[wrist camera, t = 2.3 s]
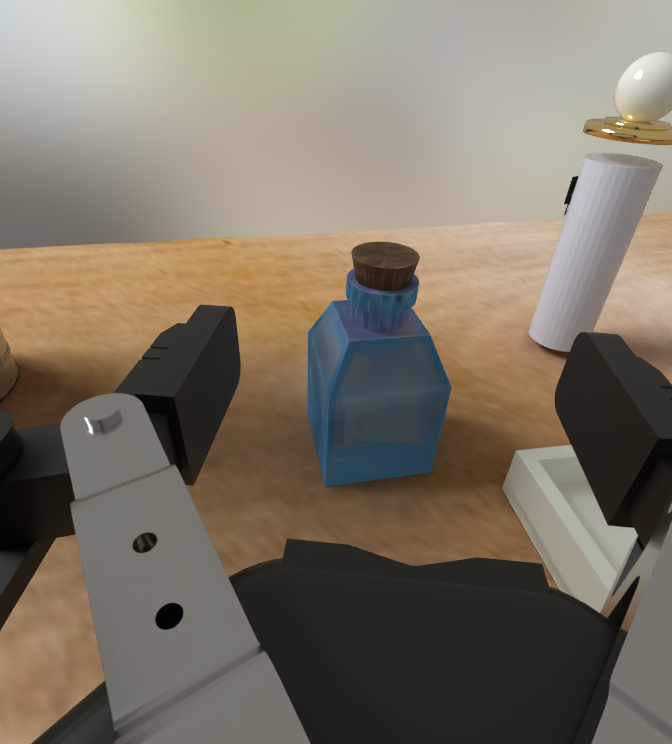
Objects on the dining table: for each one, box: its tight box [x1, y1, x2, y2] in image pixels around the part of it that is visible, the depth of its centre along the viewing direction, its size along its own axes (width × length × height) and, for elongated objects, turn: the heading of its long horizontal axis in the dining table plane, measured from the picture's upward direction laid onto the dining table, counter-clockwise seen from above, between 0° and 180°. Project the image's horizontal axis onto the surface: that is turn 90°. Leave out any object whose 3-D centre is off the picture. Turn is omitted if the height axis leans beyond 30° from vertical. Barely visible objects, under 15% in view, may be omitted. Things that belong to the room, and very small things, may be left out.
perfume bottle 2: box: [528, 51, 672, 352], centre depth 33 cm, size 6×6×20 cm
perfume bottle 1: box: [308, 242, 451, 487], centre depth 25 cm, size 6×6×12 cm
